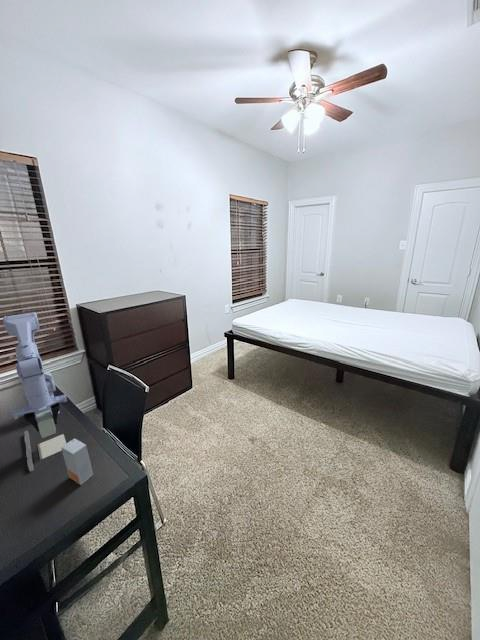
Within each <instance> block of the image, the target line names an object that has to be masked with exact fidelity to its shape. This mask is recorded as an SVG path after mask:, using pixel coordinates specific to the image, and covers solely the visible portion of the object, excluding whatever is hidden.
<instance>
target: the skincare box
mask: <svg viewBox="0 0 480 640" xmlns="http://www.w3.org/2000/svg"><path fill="white" fill-rule="evenodd" d="M66 443H67V444H65V445H64V446H62V447H61V449H62V451H61V452H62V456H63V460H64V463H65V466H66V470H67V474H68V478H70V479H71V480H73V481H74V482H75V483H77V484H78V485H80V486H82V485H83V484H85V482H87V481H88V480H89V479H91V477H93V476H94V472H93V469H92V463H91V460H90V455H89V452H88V448H87V444H85V443H84V442H82V441H80V440H79V439H77V438H73V439H72V440H69V441H68V442H66Z"/></svg>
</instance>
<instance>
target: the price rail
mask: <svg viewBox="0 0 480 640" xmlns="http://www.w3.org/2000/svg"><path fill="white" fill-rule="evenodd" d="M23 432H24V433H23V434H24V443H25V449H26V450H25V453H26V458H27V459H26V460H27V467H28V470H29V472H33V471H35V470H34V463H33V455H32V448H31V441H30V434H29V430H25V431H23Z"/></svg>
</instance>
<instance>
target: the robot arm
mask: <svg viewBox="0 0 480 640" xmlns="http://www.w3.org/2000/svg"><path fill="white" fill-rule="evenodd" d="M2 321H3V326H4V329H5V331H6V333H8V335H10V336H11V337H16V338H17V341H18V344H17V345H16V346H15V354H16V360H17V363H15V369H16V373H17V376H18V378H19V379H20V383H21V384H22V385H23V390H24V391H23V392H24V394H25V397H26V399H27V402H28V404H27V405H26V406H23V407H21V408H19V409H16V410H14V411H12V416H13V418H14V419H13V420H18V419H19V418H21V417H23V416H24V419H25V421H26V422H28V423H29V424H30V425H32V427H34V428H35V430H36V432H40V431H39V428H38V424H37V419H36V418H37V417H36V415H37V414H40V413H43V412H46V411H48V410H50V412H51V413H52V417H53V420H54V424H55V426H56V425H58V415H60V413H61V412H60V410H61V409H60V408H61V406H60V404H61V403H66V402H68V399H67V395H66V394H61V395H58V396H55V395H54V392H56V391H57V389H56V384H55V380H54V377H53V375H52V373H51V372H48V371H45V368H44V363H43V360H42V357H41V355H40V354H39V349H38V346H37V343H36V342H35V341H36V340H35V334H36V333H38V332H40V329H41V328H40V323H39V319H38V314H37V312H35V311H32V312H28V313H27V312H26V313H20V314H19V313H18V314H15V315H14V314H13V315H4V317H3V318H2Z"/></svg>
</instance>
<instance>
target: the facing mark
mask: <svg viewBox="0 0 480 640" xmlns="http://www.w3.org/2000/svg"><path fill="white" fill-rule="evenodd" d="M64 434H65V433H63V434H59V435H57V436H54V437H52V438H50V439H48V440H45V441H43V442H40V443H38V444H36V445H37V450H38V454H39V461H41V460H44V459H47V458H48V457H50V456H53V455H55V454H57V453H59V452H62V449H61V447H62V446H64V445H65V444H67V443H68V442H67V441H66V438H65V435H64Z"/></svg>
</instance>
